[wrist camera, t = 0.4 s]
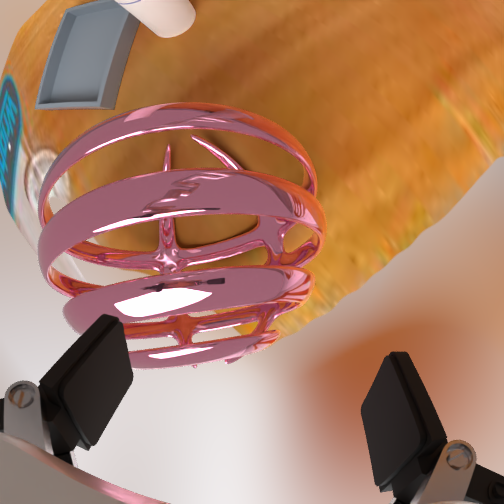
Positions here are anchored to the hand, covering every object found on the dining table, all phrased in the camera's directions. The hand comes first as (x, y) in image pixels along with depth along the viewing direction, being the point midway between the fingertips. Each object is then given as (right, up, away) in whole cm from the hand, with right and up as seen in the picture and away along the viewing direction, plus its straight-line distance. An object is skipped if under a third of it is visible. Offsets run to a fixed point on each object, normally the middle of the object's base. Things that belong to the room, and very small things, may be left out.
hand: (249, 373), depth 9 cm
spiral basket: (-6, +9, +31) cm, 33 cm away
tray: (-27, +37, +23) cm, 51 cm away
